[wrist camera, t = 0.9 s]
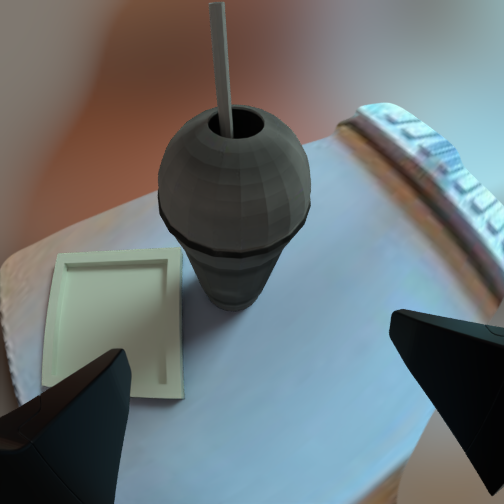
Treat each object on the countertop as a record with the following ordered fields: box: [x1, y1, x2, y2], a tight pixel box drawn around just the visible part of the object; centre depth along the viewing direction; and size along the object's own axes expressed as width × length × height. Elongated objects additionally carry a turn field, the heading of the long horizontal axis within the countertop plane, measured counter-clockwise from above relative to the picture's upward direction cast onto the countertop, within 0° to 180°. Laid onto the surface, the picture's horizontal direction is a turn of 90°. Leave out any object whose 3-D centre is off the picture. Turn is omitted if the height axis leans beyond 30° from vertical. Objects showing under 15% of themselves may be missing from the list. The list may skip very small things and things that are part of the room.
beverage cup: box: [158, 2, 311, 311], centre depth 15 cm, size 7×7×20 cm
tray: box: [42, 247, 185, 399], centre depth 21 cm, size 12×12×1 cm
